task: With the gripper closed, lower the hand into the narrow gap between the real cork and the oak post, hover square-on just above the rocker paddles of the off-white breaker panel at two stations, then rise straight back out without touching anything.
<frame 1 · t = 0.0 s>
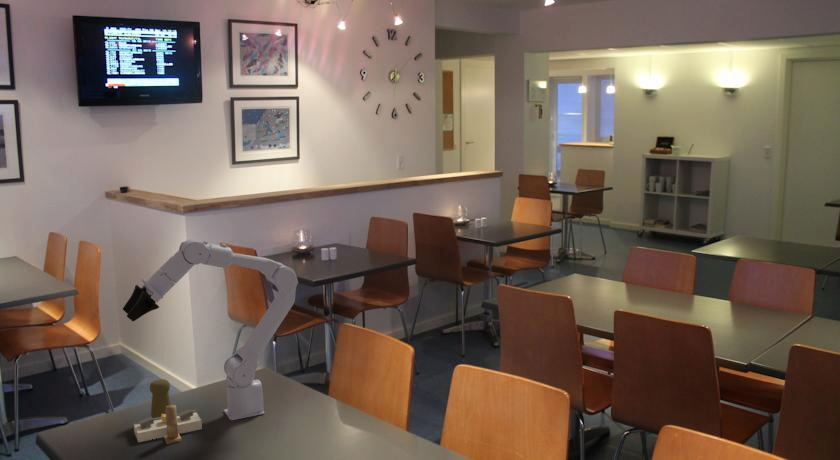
hand: (127, 315, 187), 32 cm above the table, tool tilted 50°, fingers open, 7 cm apart
rocker a: (185, 414, 196), point 4 cm above the table, hinge at 12.0°
rocker c: (146, 422, 191), point 4 cm above the table, hinge at 12.0°
rocker b: (168, 417, 194), point 4 cm above the table, hinge at -12.0°
oak post: (172, 439, 189), on the table
cork: (162, 419, 202), on the table
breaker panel: (168, 430, 194), on the table
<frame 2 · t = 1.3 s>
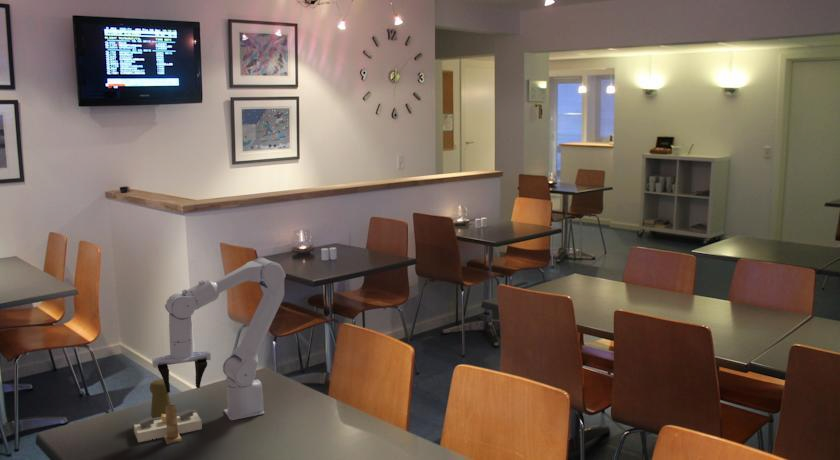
hand: (183, 389, 195), 11 cm above the table, tool pointing down, fingers open, 7 cm apart
nothing on the table moved.
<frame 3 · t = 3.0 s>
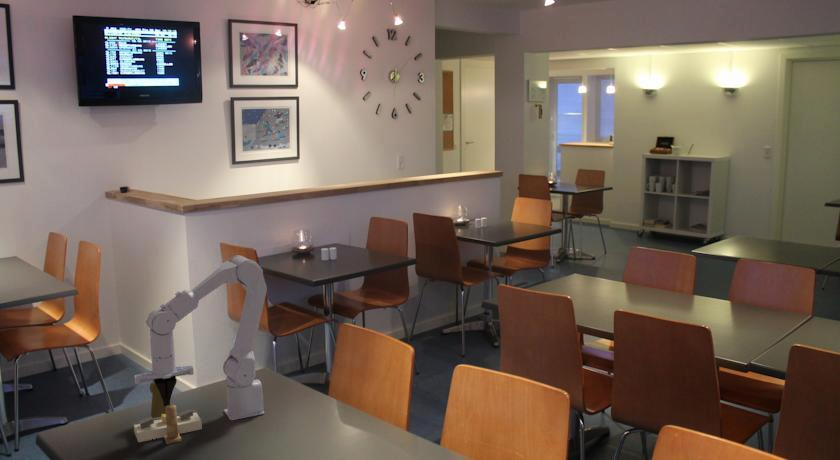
hand: (166, 404, 193), 7 cm above the table, tool pointing down, fingers closed
nothing on the table moved.
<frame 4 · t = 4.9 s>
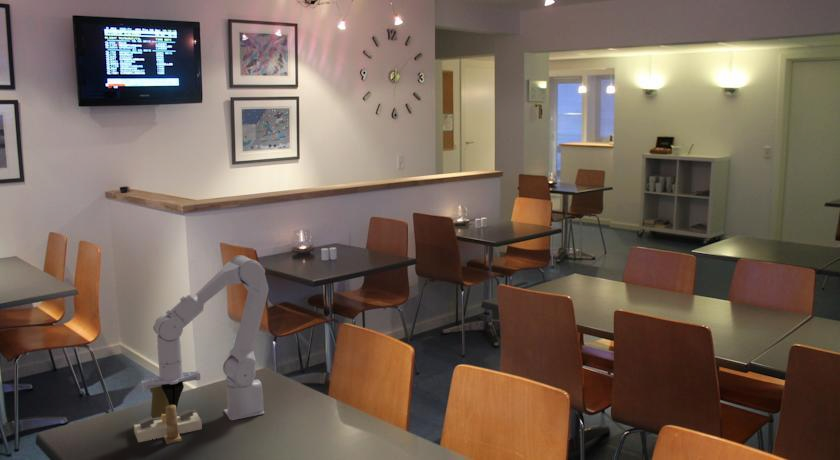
hand: (173, 410, 194), 5 cm above the table, tool pointing down, fingers closed
nothing on the table moved.
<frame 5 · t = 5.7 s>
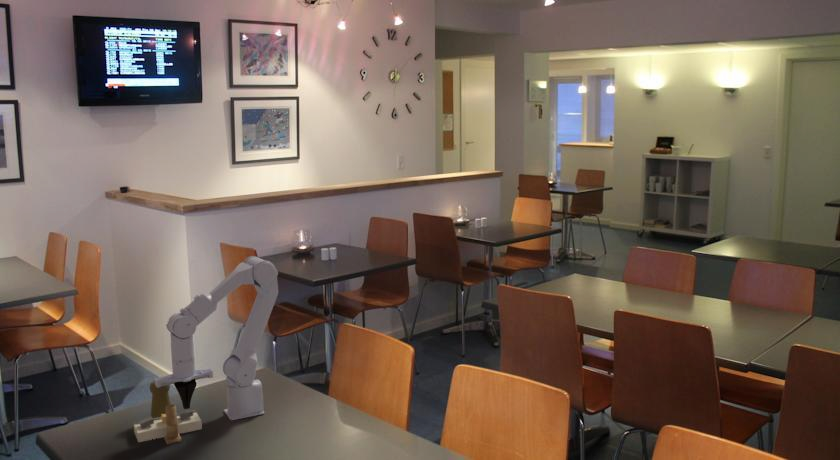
hand: (186, 407, 196), 5 cm above the table, tool pointing down, fingers closed
nothing on the table moved.
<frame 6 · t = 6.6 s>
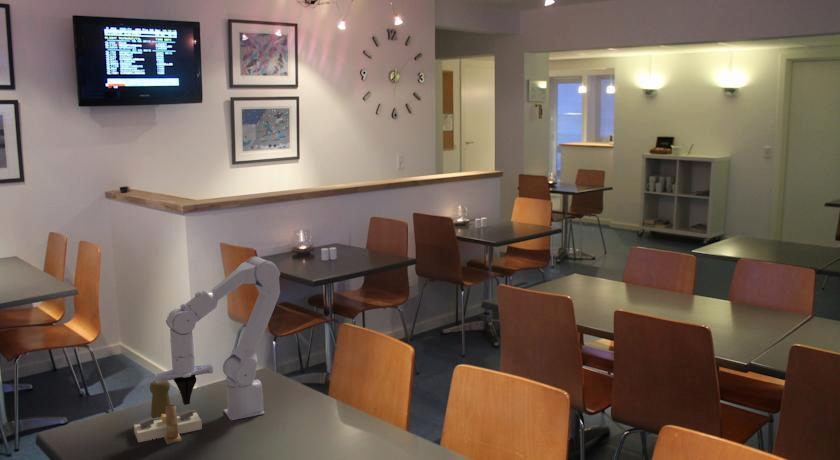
hand: (186, 403, 196), 7 cm above the table, tool pointing down, fingers closed
nothing on the table moved.
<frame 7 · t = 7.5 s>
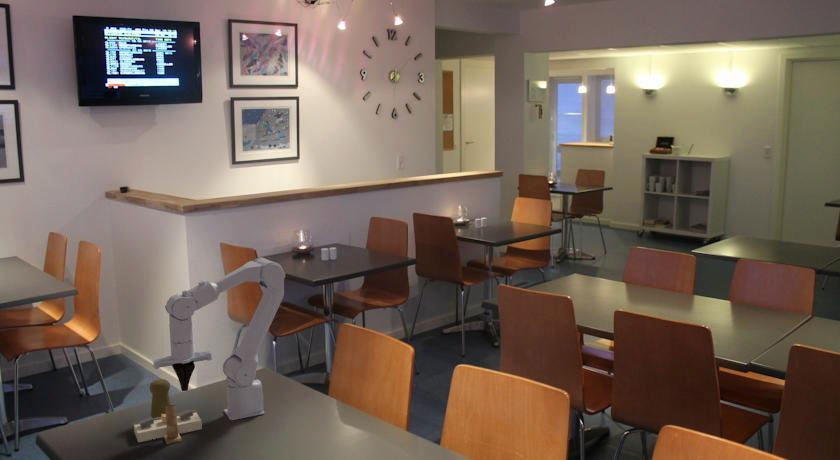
hand: (184, 389, 195), 10 cm above the table, tool pointing down, fingers closed
nothing on the table moved.
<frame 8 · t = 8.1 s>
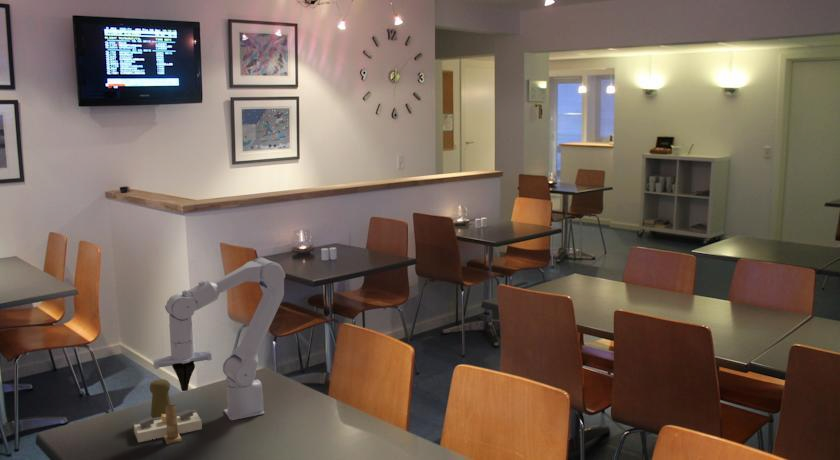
hand: (184, 389, 195), 10 cm above the table, tool pointing down, fingers closed
nothing on the table moved.
at the end: cork moved 0.2 cm from its start; rocker b at -12° (first picture: -12°); rocker a at +12° (first picture: +12°) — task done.
